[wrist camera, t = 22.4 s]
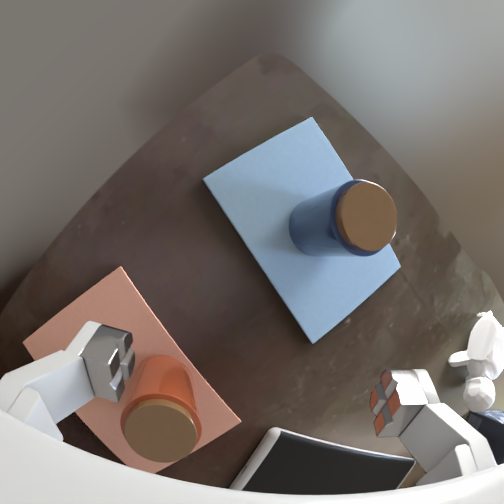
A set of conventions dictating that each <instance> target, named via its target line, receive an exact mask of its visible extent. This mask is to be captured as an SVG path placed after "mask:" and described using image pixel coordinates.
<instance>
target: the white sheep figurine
mask: <svg viewBox="0 0 504 504" xmlns="http://www.w3.org/2000/svg"><path fill="white" fill-rule="evenodd" d="M477 317H479V318H481V319H480V320H479V321H478V322H477V323H476V324H475V326H474V328H473V329H472V331H471V333H470V338H469V342H468V348H467V351H460V352H456V353H454V354H453V355H451V356H450V358H449V359H448V363H449V365H451V366H452V367H458V366H464V365H467V370H468V372H469V375H468V376H467V378H466V380H465V383H466V388H465V391H464V393H463V399H464V403H465V405H466V407H467V408H468V409H469V410H471V411H472V412H484V411H486V410H487V409H488V408H489V407H491V406H492V404H493V403H494V400H495V389H494V385H493V383H492V381H491V380H494V379H496V378H497V377H498V376H499V375H500V374H501V372H502V370H503V369H504V328H503V327H502V326H501V325H500V324H499V323H498V322H497V320H496V319H495V318H494V317H493V313H492V311H488V312H487V313H485V312H482V313H479V314H477Z"/></svg>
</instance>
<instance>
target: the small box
mask: <svg viewBox="0 0 504 504" xmlns="http://www.w3.org/2000/svg"><path fill="white" fill-rule="evenodd" d="M466 422H467V423H468V424H470V425H471V426H472V427H473V428H474V429H475V430H477V431H478V432H479V433H480V434H481V435H483V436H484V437H485V438H486V439H487V441H488V444H489V446H490V449H491V451H492V454H493V456H494V459H495V462H496V464H498V465H501V464H503V463H504V412H503V411H500V410H486V411H484V412H472V411H470V413H469V415H468V417H467V420H466Z"/></svg>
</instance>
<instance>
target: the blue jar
mask: <svg viewBox="0 0 504 504" xmlns="http://www.w3.org/2000/svg"><path fill="white" fill-rule="evenodd" d="M396 226H397V213H396V208H395V205H394V203H393V201H392V199H391V197H390V195H389V194H388V193H387V192H386V191H385V190H384V189H383V188H382V187H380V186H379V185H377V184H375V183H371V182H368V181H365V180H351V181H348V182H346V183H343V184H341V185H339V186H336V187H334V188H332V189H329V190H327V191H325V192H322V193H320V194H318V195H315V196H313V197H311V198H308V199H306V200H304V201H302V202H300V203H299V204H298V205H297V206H296V207H295V208H294V210H293V211H292V213H291V216H290V219H289V233H290V237H291V239H292V241H293V243H294V245H295V246H296V247H297V248H298V249H299V250H300V251H301V252H302V253H304V254H306V255H308V256H313V257H367V256H372V255H374V254H376V253H378V252H379V251H381V250H382V249H383V248H384V247H385V246H386V245H387V244H388V243H389V242H390V241H391V240H392V238H393V236H394V234H395V231H396Z"/></svg>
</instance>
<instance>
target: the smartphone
mask: <svg viewBox="0 0 504 504" xmlns="http://www.w3.org/2000/svg"><path fill="white" fill-rule="evenodd" d="M415 464H416V461H415V460H414V459H413V458H408V457H401V456H395V455H388V454H383V453H377V452H372V451H367V450H362V449H357V448H352V447H348V446H343V445H339V444H335V443H331V442H327V441H323V440H319V439H315V438H312V437H308V436H304V435H301V434H297V433H294V432H291V431H287V430H284V429H281V428H277V427H274V428H271V429H269V430H268V431H267V433H266V434H265V436H264V437H263V439H262V441H261V442H260V444H259V445H258V447H257V448H256V450H255V451H254V453H253V454H252V456H251V457H250V459H249V460H248V461H247V463H246V464H245V466H244V467H243V469H242V470H241V472H240V473H239V474H238V476H237V477H236V479H235V480H234V481H233V483H232V484H231V486H230V487H229V488H228V489H232V490H240V491H249V492H259V493H271V494H289V495H341V494H358V493H370V492H380V491H389V490H396V489H398V488H399V487H400V485H401V484H402V483H403V481H404V480H405V479H406V477H407V476H408V474H409V473H410V472H411V470H412V469H413V467H414V466H415Z"/></svg>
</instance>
